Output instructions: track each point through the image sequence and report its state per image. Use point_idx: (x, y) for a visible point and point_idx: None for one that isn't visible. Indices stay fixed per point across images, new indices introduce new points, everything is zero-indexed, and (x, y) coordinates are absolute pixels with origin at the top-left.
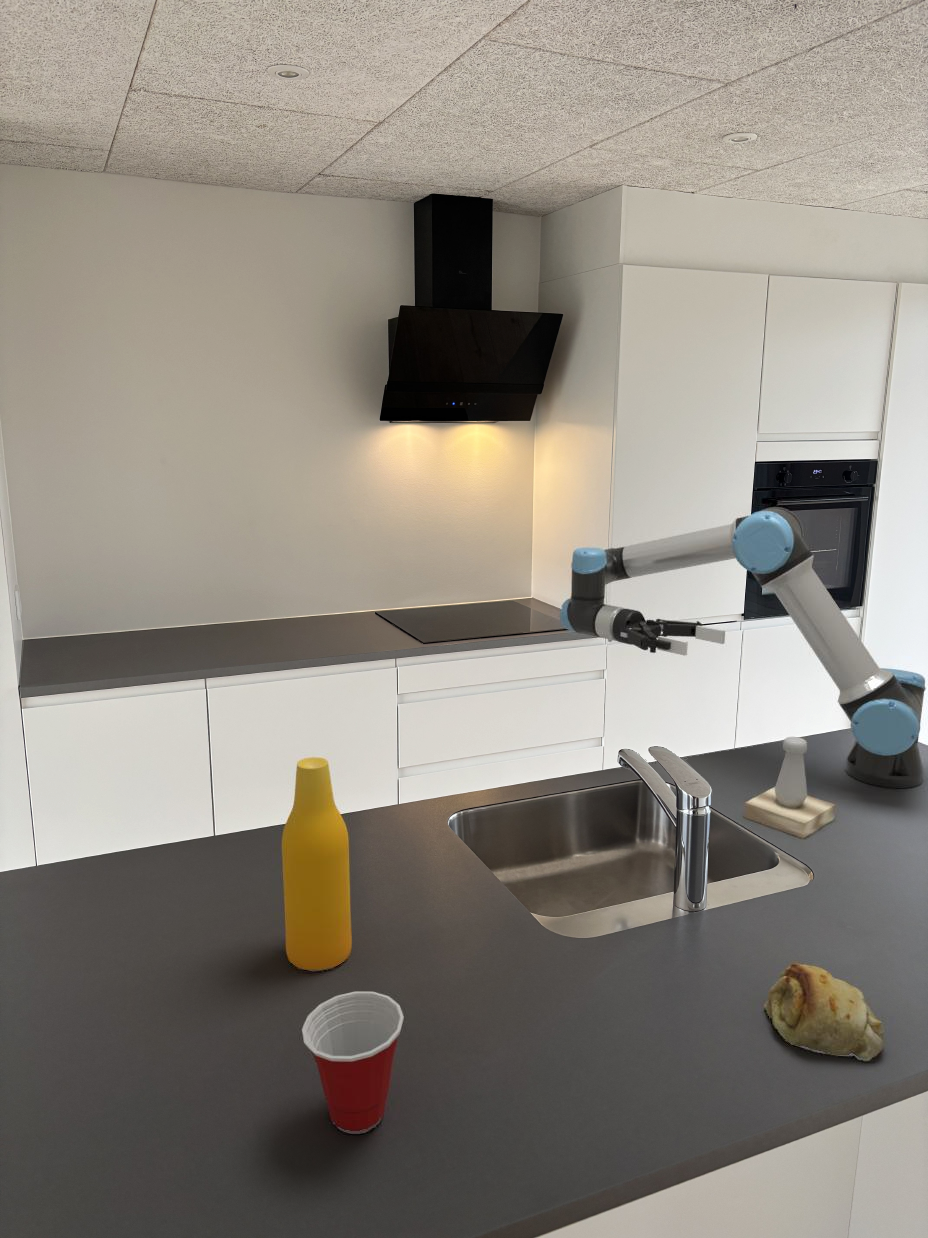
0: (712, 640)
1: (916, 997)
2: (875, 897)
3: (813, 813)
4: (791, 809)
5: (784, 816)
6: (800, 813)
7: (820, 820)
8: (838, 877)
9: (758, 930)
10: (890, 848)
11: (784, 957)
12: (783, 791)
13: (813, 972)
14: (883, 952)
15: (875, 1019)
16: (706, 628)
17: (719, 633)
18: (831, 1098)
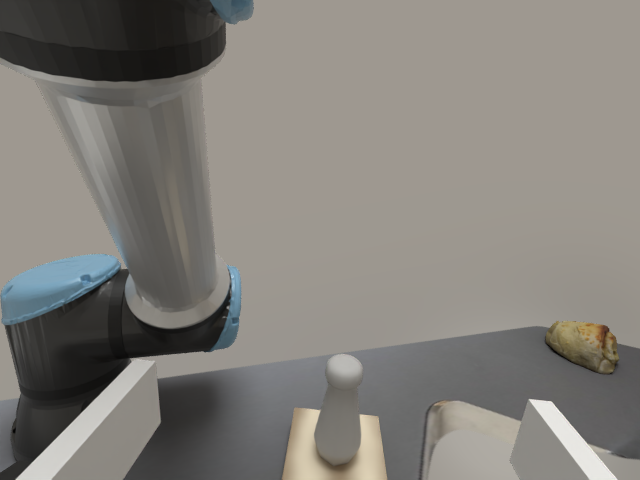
0: (118, 478)
1: (494, 332)
2: (419, 362)
3: None
4: None
5: (381, 440)
6: None
7: None
8: (418, 386)
9: (562, 404)
10: (324, 371)
11: (559, 381)
12: (360, 432)
13: (594, 327)
14: (477, 347)
15: (559, 322)
16: (57, 474)
17: (143, 391)
18: None
